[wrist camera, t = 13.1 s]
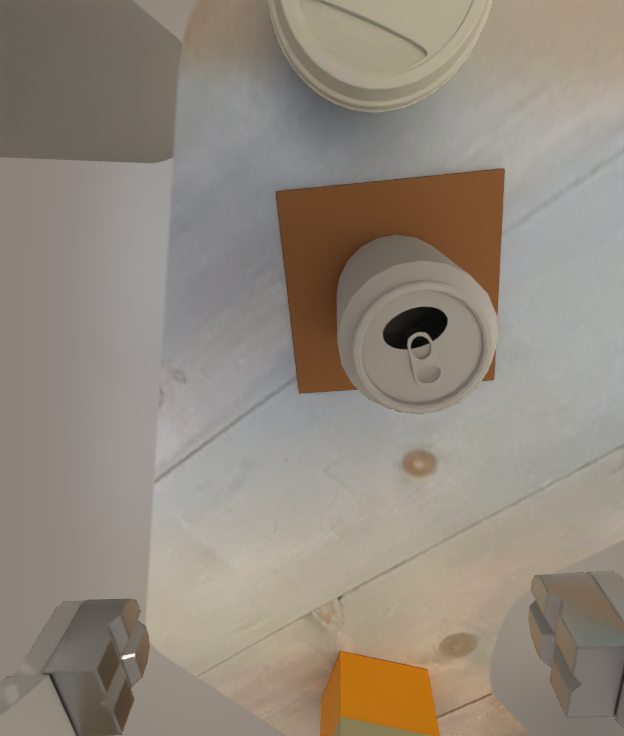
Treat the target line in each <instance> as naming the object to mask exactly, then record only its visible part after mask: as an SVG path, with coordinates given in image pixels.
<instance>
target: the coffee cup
mask: <svg viewBox="0 0 624 736" xmlns="http://www.w3.org/2000/svg"><path fill="white" fill-rule="evenodd" d="M492 3H493V0H268V7H269V13H270V17H271V21H272V25H273V29H274V32H275V35H276V37H277V40H278V42H279V45H280V47H281V49H282V51H283V53H284V55H285V57H286V58H287V60H288V62H289V63H290V65H291V66H292V68H293V69H294V70H295V72H296V73H297V74H298V76H299V77H300V78H301V79H302V80H303V81H304V82H305V83H306V84H307V85H308V86H309V87H310V88H311V89H312V90H314V91H315V92H316V93H318V94H319V95H320V96H322V97H323V98H325V99H327V100H329V101H330V102H332V103H334V104H337V105H339V106H341V107H344V108H347V109H351V110H356V111H361V112H386V111H393V110H397V109H401V108H404V107H407V106H410V105H412V104H414V103H417V102H419V101H421V100H423V99H424V98H426V97H428V96H429V95H431V94H432V93H434V92H435V91H436V90H438V89H439V88H440V87H442V86H443V85H444V84H445V83H446V82H447V81H448V80H449V79H450V78H451V77H452V76H453V75H454V74H455V73H456V72H457V71H458V70H459V69H460V67H461V66H462V65H463V63H464V62H465V61H466V59H467V58H468V56H469V55H470V53H471V52H472V50H473V48H474V47H475V45H476V43H477V41H478V39H479V37H480V35H481V33H482V31H483V28H484V26H485V23H486V20H487V18H488V15H489V12H490V9H491V6H492Z"/></svg>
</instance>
